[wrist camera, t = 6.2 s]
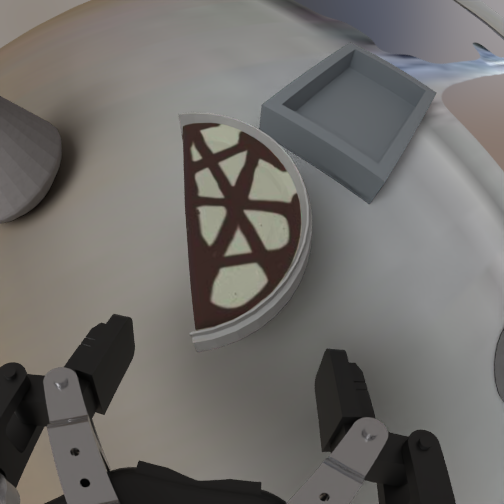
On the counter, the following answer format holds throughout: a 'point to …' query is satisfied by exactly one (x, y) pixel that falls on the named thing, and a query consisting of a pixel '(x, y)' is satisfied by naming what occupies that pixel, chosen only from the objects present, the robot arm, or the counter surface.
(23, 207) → the coffee pot
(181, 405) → the counter surface
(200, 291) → the food container
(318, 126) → the tray
